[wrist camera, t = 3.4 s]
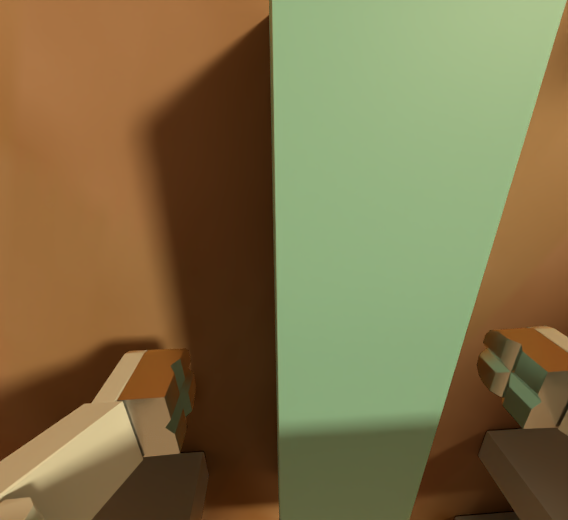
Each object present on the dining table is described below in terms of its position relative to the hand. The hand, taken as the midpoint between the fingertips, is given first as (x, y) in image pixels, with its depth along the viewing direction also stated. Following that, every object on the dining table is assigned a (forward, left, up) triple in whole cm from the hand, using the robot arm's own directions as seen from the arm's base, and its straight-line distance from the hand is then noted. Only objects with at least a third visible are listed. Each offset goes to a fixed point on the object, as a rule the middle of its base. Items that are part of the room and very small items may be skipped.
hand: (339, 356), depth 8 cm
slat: (0, 0, -2) cm, 2 cm away
